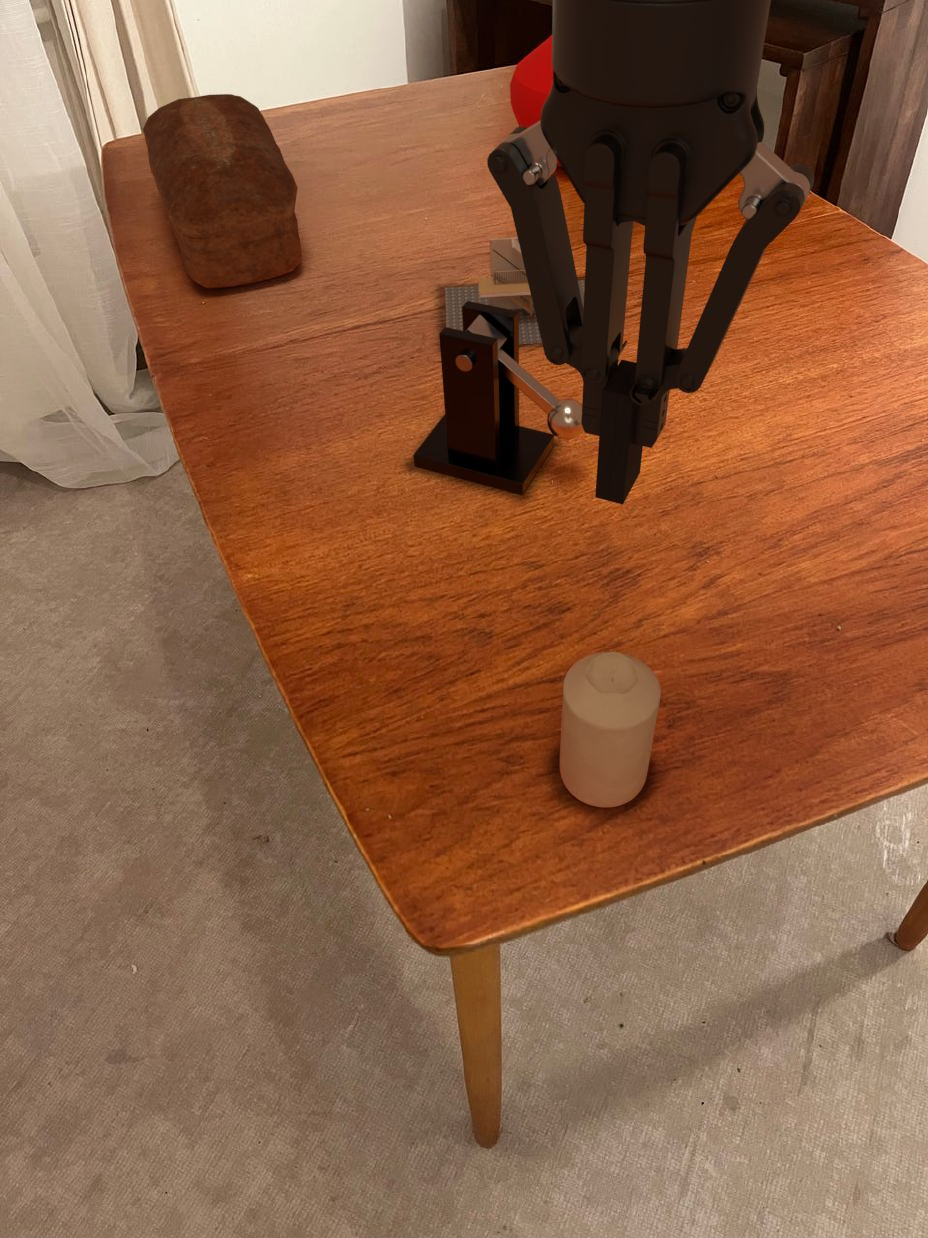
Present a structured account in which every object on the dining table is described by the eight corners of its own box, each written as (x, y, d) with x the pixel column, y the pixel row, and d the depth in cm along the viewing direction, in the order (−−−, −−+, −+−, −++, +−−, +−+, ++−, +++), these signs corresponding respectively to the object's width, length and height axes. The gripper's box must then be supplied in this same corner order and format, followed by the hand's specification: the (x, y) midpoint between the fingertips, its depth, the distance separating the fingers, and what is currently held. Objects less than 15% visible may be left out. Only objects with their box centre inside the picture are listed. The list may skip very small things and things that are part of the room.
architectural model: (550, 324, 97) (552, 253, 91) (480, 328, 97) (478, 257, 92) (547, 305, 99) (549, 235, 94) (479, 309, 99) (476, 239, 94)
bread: (268, 174, 123) (248, 68, 114) (319, 280, 105) (300, 164, 96) (157, 195, 120) (127, 88, 111) (190, 308, 102) (157, 191, 93)
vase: (485, 144, 126) (480, -29, 112) (606, 112, 131) (616, -57, 116) (558, 200, 115) (562, 16, 100) (688, 162, 120) (710, -18, 105)
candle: (657, 800, 61) (676, 703, 53) (570, 815, 60) (577, 719, 53) (632, 729, 64) (647, 628, 57) (550, 742, 64) (554, 643, 56)
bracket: (554, 445, 84) (557, 311, 75) (522, 495, 80) (522, 360, 71) (449, 419, 87) (440, 287, 78) (414, 465, 83) (399, 332, 74)
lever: (578, 431, 80) (601, 410, 77) (563, 454, 78) (587, 433, 75) (465, 332, 78) (485, 307, 75) (447, 353, 76) (467, 328, 73)
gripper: (884, -71, 33) (761, 471, 51) (529, -92, 37) (529, 416, 55) (840, -2, 29) (722, 566, 46) (443, -35, 33) (473, 498, 51)
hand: (617, 484), depth 51 cm, fingers closed
